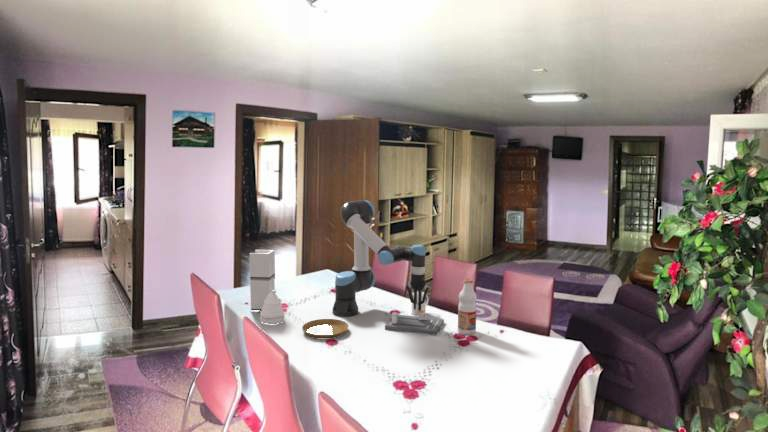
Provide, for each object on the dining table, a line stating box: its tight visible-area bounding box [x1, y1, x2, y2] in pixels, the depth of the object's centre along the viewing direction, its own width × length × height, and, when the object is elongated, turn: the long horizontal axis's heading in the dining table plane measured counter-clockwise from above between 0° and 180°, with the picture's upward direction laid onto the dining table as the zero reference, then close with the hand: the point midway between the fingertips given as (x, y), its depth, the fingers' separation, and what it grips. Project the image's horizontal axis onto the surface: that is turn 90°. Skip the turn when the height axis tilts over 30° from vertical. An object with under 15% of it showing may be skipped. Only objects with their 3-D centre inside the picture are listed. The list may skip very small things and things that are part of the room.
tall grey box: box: [249, 249, 276, 311], centre depth 309 cm, size 11×11×35 cm
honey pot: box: [260, 289, 285, 325], centre depth 290 cm, size 13×13×18 cm
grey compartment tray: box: [384, 314, 445, 336], centre depth 285 cm, size 28×20×2 cm
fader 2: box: [418, 308, 426, 320], centre depth 289 cm, size 3×3×5 cm
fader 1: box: [391, 311, 399, 324], centre depth 283 cm, size 3×3×5 cm
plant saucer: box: [301, 318, 349, 339], centre depth 275 cm, size 24×24×3 cm
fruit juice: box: [457, 278, 477, 335], centre depth 275 cm, size 9×9×28 cm
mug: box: [410, 291, 429, 316], centre depth 307 cm, size 12×8×12 cm
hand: (417, 315), depth 289 cm, fingers closed
